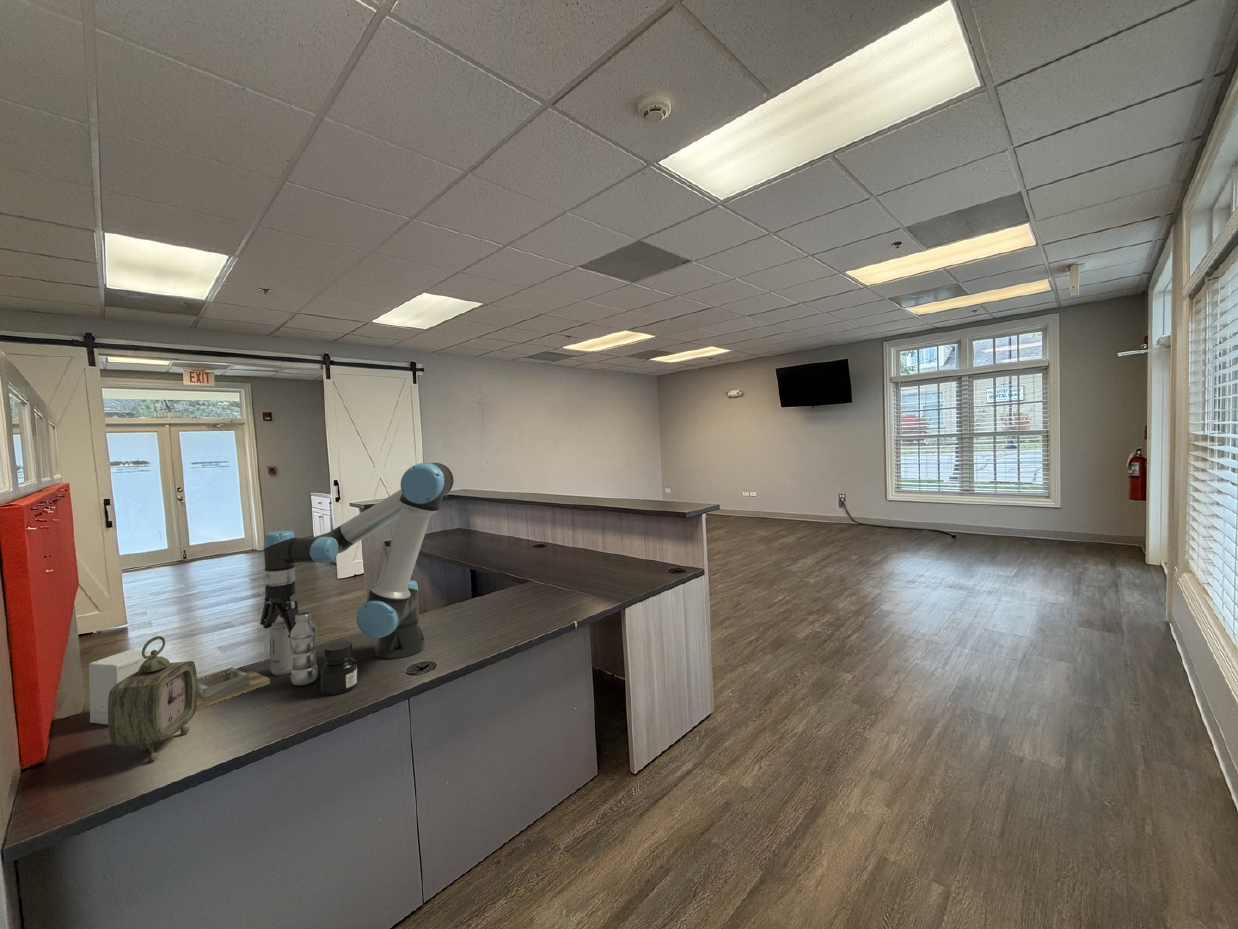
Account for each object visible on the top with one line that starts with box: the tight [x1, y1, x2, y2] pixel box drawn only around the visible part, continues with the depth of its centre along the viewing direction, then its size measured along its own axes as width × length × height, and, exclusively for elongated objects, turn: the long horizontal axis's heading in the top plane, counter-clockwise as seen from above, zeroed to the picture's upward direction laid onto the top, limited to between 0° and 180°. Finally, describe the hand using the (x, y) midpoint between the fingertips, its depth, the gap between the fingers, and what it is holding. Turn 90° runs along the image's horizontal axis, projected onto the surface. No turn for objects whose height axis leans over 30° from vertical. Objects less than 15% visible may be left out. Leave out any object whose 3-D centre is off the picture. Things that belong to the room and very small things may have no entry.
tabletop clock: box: [107, 635, 198, 762], centre depth 111 cm, size 14×9×25 cm, turn 12°
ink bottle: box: [320, 640, 358, 696], centre depth 139 cm, size 10×9×12 cm
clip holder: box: [195, 666, 271, 712], centre depth 137 cm, size 11×20×4 cm, turn 150°
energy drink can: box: [269, 620, 293, 676], centre depth 150 cm, size 6×6×15 cm
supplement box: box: [88, 649, 151, 725], centre depth 126 cm, size 9×9×15 cm
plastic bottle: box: [290, 611, 319, 686], centre depth 142 cm, size 6×7×20 cm
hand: (282, 652), depth 150 cm, fingers open, 13 cm apart
